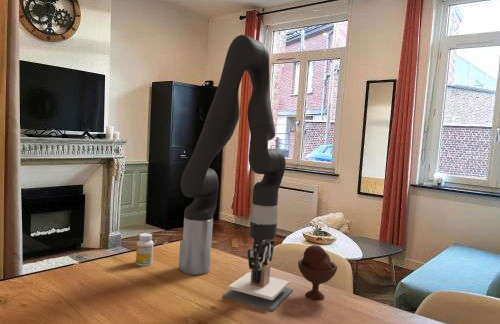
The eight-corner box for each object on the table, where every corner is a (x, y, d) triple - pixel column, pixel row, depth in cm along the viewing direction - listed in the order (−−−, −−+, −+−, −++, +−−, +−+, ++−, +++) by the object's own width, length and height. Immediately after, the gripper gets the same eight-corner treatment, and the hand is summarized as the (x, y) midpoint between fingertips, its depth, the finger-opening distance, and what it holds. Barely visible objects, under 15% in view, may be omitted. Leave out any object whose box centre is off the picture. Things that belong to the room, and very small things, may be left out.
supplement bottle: (140, 259, 126) (142, 231, 126) (155, 261, 125) (157, 233, 125) (132, 264, 121) (134, 235, 120) (148, 267, 120) (149, 237, 119)
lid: (228, 288, 101) (229, 267, 101) (249, 274, 113) (250, 255, 113) (272, 300, 96) (273, 278, 95) (289, 284, 107) (290, 264, 107)
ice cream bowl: (335, 307, 100) (339, 253, 99) (293, 301, 102) (297, 247, 101) (334, 292, 110) (338, 242, 109) (296, 286, 112) (300, 238, 111)
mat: (222, 297, 101) (222, 294, 101) (247, 279, 115) (247, 278, 115) (273, 311, 95) (273, 309, 95) (292, 291, 108) (292, 289, 108)
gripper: (261, 214, 111) (258, 270, 112) (240, 222, 98) (236, 285, 99) (285, 218, 108) (281, 275, 109) (265, 227, 95) (261, 292, 96)
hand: (259, 280), depth 104 cm, fingers closed on lid, 4 cm apart
